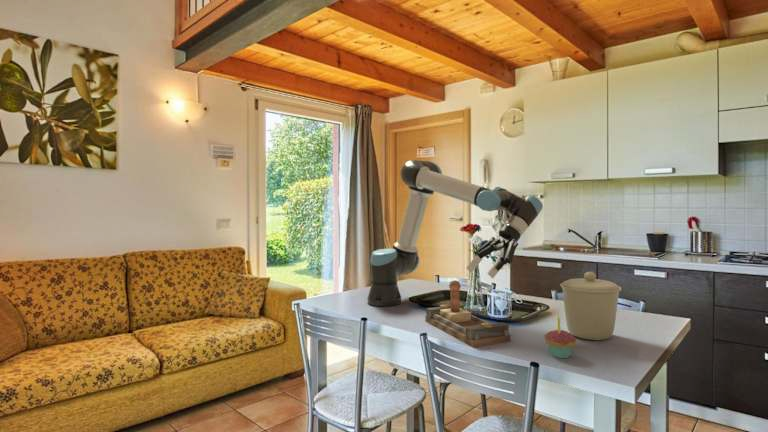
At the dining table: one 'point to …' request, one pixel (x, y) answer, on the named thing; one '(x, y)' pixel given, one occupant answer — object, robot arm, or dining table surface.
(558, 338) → the cupcake
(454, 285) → the carriage
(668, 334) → the dining table surface
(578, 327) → the canister
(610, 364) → the dining table surface
